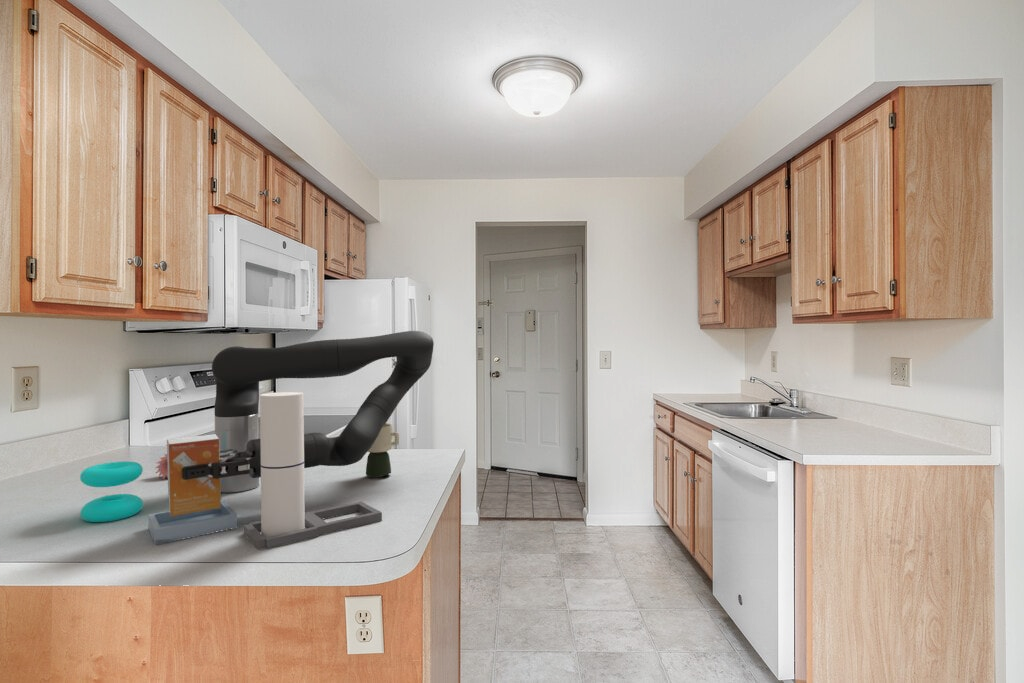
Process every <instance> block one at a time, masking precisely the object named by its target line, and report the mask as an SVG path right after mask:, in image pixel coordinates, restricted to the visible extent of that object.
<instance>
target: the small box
mask: <svg viewBox="0 0 1024 683" xmlns="http://www.w3.org/2000/svg"><path fill="white" fill-rule="evenodd" d="M166 452H167V453H166V454H167V463H168V478H167V491H168V494H167V495H168V509H169V510H168V511H170V516H171V517H172V516H176V515H182V514H188V513H194V512H200V511H206V510H212V509H220V508H221V502H222V496H221V495H222V494H221V493H222V492H221V486H220V478H218V479H216V478H213V477H211V478H210V477H207V475H206V477H200V478H194V479H187V480H184V479H183V478H182V468H183V467H186V466H193V465H200V464H206V466H207V463H209V462H217V461H220V451H219V438H218V437H217V436H216V434H215V433H214V434H212V433H211V434H207V435H205V434H204V435H194V436H187V437H180V438H179V437H177V438H169V439H166Z"/></svg>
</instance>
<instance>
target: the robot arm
mask: <svg viewBox="0 0 1024 683" xmlns="http://www.w3.org/2000/svg"><path fill="white" fill-rule="evenodd" d="M434 344H435V342H434V339H433V337H432V336H431V335H430V334H428V333H427V332H424V331H421V330H408V331H407V330H406V331H400V332H393V333H388V334H383V335H376V336H367V337H366V336H365V337H354V338H341V339H340V338H338V339H337V338H336V339H324V340H323V339H322V340H321V339H320V340H316V341H315V340H314V341H306V342H302V343H301V342H299V343H296V344H292V345H291V344H290V345H287V346H281V347H244V346H237V345H235V346H230V347H226V348H224V349H222V350H221V351H219V352H218V353H217V354H216V355H215V357H214V358H213V360H212V363H211V371H212V374H213V377H214V378H215V400H214V434H216V436H217V437H218V438H219V451H220V461H217V462H209V463H207V466H206V464H200V465H193V466H186V467H183V468H182V478H183V479H184V480H187V479H194V478H200V477H206V475H207V477H210V478H211V477H213V478H216V479H218V478H220V486H221V493H239V492H245V491H249V490H252V489H256V488H257V487H259V485H260V478H261V442H260V430H259V429H260V425H259V423H260V422H259V421H260V418H259V417H260V416H259V407H260V382H265V381H271V380H277V379H321V378H323V379H324V378H333V377H334V378H335V377H343V376H348V375H350V374H353V373H355V372H357V371H359V370H361V369H362V368H364V367H366V366H368V365H370V364H372V363H374V362H376V361H378V360H382V359H383V360H384V359H387V358H396V363H395V365H394V368H393V370H392V372H391V373H390V374H391V375H389V377H388V378H387V379H386V380H385V381H384V382H383V383H381V384H379V385H377V386H376V387H374V389H372V391H371V392H370V393H369V394H368V396H367V397H366V398H365V399H364V401H363V402H362V404H361V405H360V407H359V408H358V410H357V412H356V414H355V415H354V416H353V418H351V420H350V421H349V422H348V424H346V426H345V427H344V428H343V430H342V431H341V433H340V434H339V436H334V437H328V436H327V435H325V434H324V433H322V432H310V433H304V469H309V468H314V467H319V466H325V467H326V466H327V467H345V466H350V465H353V464H356V463H358V462H360V461H361V460H362V459H363V458H364V457H365V455H367V453H369V452H368V450H369V449H370V448H371V446H372V445H373V443H374V442H375V440H376V438H377V437H378V435H379V433H380V431H381V429H382V427H383V426H384V425H385V424H386V423H387V422H388V420H389V419H390V418H391V416H392V414H393V413H394V411H395V409H397V407H398V406H399V404H400V403H401V401H402V399H403V398H404V397H405V395H407V393H408V392H409V391H410V389H412V387H413V386H414V385H415V384H416V383H417V382H418V381H419V380H420V379H421V378H422V377H423V376H424V375H425V373H427V372H428V370H429V369H430V366H431V364H432V359H433V352H434Z"/></svg>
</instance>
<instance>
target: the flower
mask: <svg viewBox="0 0 1024 683" xmlns="http://www.w3.org/2000/svg"><path fill="white" fill-rule="evenodd" d="M156 464H158V465H157V466H156V467H155V469H157V471H156V472H155V474H157V473H159V474H158V477H161V476H162V480H165V478H166V479H168V463H167V453H164V456H163V457H159V461H157V462H156Z"/></svg>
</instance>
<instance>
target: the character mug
mask: <svg viewBox="0 0 1024 683" xmlns="http://www.w3.org/2000/svg"><path fill="white" fill-rule="evenodd" d="M393 437H395V438H393ZM394 439H395V440H394ZM393 440H394V441H393ZM399 445H400V435H399V432H397V431H396V432H395V431H393V424H392V423H387V422H386V424H385V425H384V426H383V427H382V429H381V431H380V433H379V435H378V437H377V438H376V440H375V442H374V443H373V445H372V446H371V448H370V449H369V450H368V452H367V453H368V455H367V459H366V466H365V475H366V476H367V477H370V478H380V477H383V476H385V477H386V476H388V475H391V474H392V467H391V460H390V454H389V452H388V451H390V450H392V448H393V446H399Z"/></svg>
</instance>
